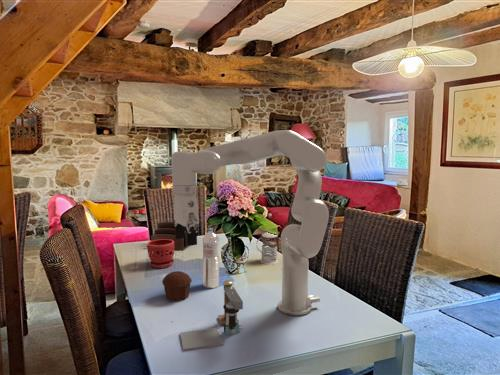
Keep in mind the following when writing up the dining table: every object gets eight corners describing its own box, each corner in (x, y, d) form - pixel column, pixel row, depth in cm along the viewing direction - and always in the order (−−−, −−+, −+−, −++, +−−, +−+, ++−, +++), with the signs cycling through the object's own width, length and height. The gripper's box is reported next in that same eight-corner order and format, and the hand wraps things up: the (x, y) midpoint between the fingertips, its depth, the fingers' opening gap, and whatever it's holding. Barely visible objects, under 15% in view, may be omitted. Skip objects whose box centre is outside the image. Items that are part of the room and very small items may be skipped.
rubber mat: (216, 329, 127) (216, 327, 127) (223, 345, 118) (223, 343, 118) (180, 334, 124) (180, 332, 124) (183, 350, 114) (183, 348, 114)
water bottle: (222, 285, 165) (222, 228, 162) (210, 290, 160) (209, 231, 157) (211, 281, 169) (211, 226, 166) (199, 285, 165) (199, 228, 161)
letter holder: (158, 243, 230) (158, 220, 228) (189, 246, 225) (189, 222, 223) (150, 248, 220) (150, 224, 218) (183, 251, 216) (182, 226, 214)
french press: (279, 264, 193) (280, 215, 190) (256, 264, 193) (256, 215, 190) (278, 258, 203) (279, 211, 199) (256, 258, 203) (256, 211, 200)
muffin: (156, 300, 150) (155, 275, 149) (172, 289, 160) (171, 266, 159) (182, 305, 146) (182, 279, 144) (197, 294, 156) (197, 270, 155)
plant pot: (172, 260, 199) (172, 237, 198) (176, 268, 187) (175, 244, 185) (146, 262, 195) (146, 239, 194) (148, 270, 183) (147, 246, 181)
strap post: (234, 315, 137) (234, 287, 136) (238, 323, 131) (238, 294, 130) (217, 317, 135) (217, 289, 134) (221, 325, 130) (221, 296, 128)
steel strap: (231, 288, 134) (231, 279, 133) (244, 308, 118) (244, 299, 118) (222, 289, 133) (222, 280, 133) (233, 310, 117) (233, 300, 117)
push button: (239, 326, 129) (239, 297, 128) (246, 333, 125) (246, 304, 123) (221, 330, 127) (220, 301, 125) (227, 338, 122) (227, 308, 120)
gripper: (207, 192, 118) (208, 246, 121) (184, 186, 133) (185, 234, 135) (184, 194, 114) (185, 250, 117) (163, 187, 129) (165, 237, 131)
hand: (185, 241), depth 126 cm, fingers open, 9 cm apart
